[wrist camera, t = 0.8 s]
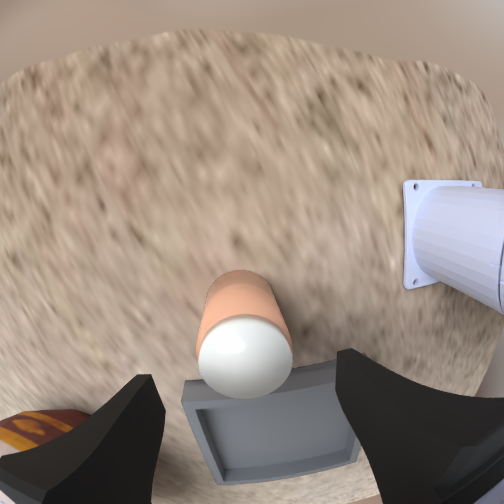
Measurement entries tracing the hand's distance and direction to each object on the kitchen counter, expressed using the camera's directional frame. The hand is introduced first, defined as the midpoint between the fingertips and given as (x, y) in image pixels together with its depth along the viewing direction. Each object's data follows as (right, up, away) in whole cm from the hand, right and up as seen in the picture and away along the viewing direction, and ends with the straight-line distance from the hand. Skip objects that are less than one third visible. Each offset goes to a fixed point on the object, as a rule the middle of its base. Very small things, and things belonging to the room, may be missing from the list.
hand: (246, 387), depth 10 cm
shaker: (-1, +2, +8) cm, 9 cm away
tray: (+3, -10, +11) cm, 15 cm away
